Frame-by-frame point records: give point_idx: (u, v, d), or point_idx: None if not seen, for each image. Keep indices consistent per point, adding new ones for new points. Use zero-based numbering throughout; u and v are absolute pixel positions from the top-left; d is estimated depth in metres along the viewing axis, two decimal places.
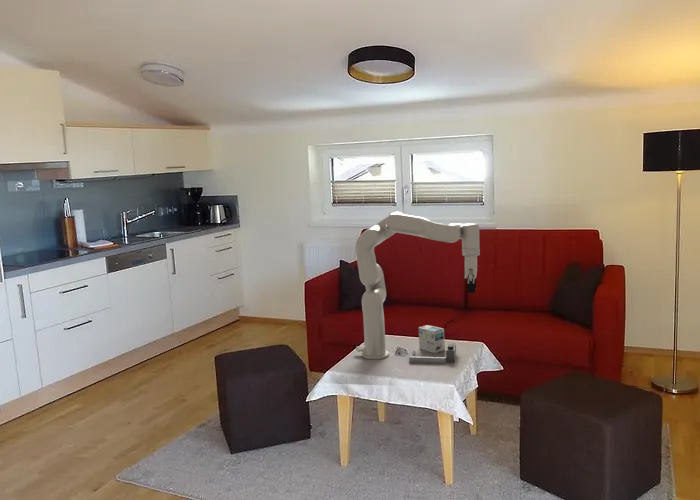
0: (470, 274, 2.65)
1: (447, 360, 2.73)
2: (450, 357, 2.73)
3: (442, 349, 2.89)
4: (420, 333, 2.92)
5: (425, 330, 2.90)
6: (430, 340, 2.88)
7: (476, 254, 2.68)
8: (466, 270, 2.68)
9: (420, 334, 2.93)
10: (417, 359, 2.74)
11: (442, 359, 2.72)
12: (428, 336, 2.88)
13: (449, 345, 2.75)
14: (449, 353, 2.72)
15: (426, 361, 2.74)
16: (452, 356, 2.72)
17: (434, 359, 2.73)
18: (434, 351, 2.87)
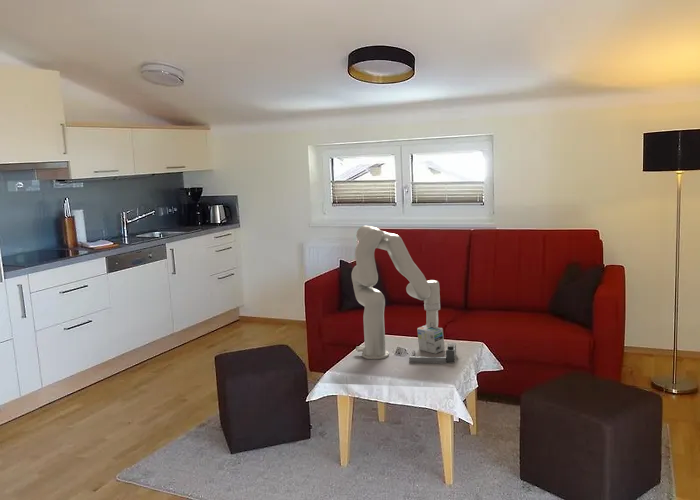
0: None
1: (447, 360, 2.73)
2: (450, 357, 2.73)
3: (442, 349, 2.89)
4: (419, 334, 2.91)
5: (424, 331, 2.88)
6: (430, 340, 2.87)
7: (437, 309, 2.92)
8: (427, 323, 2.92)
9: (419, 335, 2.91)
10: (417, 359, 2.74)
11: (442, 359, 2.72)
12: (428, 337, 2.87)
13: (449, 345, 2.75)
14: (449, 353, 2.72)
15: (426, 361, 2.74)
16: (452, 356, 2.72)
17: (434, 359, 2.73)
18: (434, 351, 2.86)
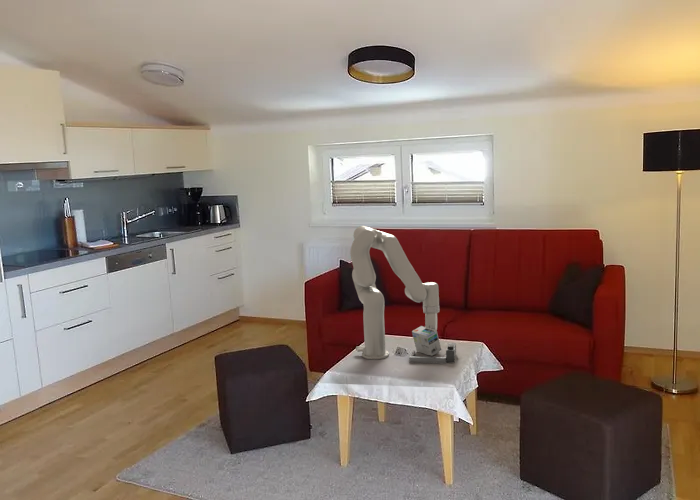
0: None
1: (447, 360, 2.73)
2: (450, 357, 2.73)
3: (438, 350, 2.85)
4: (414, 337, 2.88)
5: (418, 334, 2.84)
6: (425, 343, 2.83)
7: (436, 311, 2.87)
8: (426, 326, 2.87)
9: (414, 338, 2.88)
10: (417, 359, 2.74)
11: (442, 359, 2.72)
12: (422, 340, 2.83)
13: (449, 345, 2.75)
14: (449, 353, 2.72)
15: (426, 361, 2.74)
16: (452, 356, 2.72)
17: (434, 359, 2.73)
18: (430, 354, 2.83)
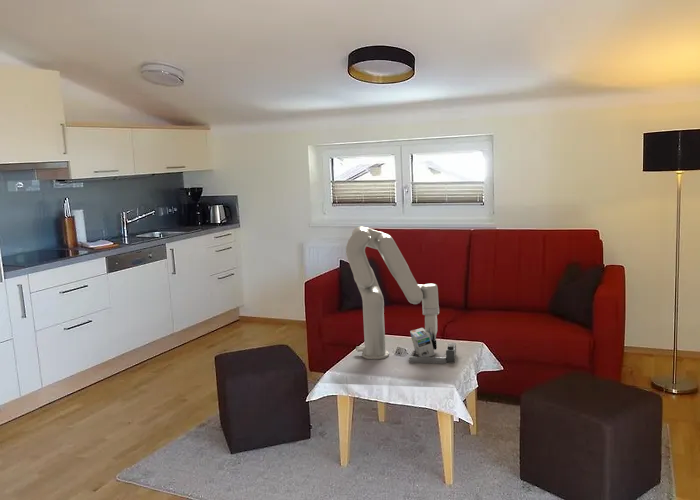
0: (431, 337, 2.82)
1: (447, 360, 2.73)
2: (450, 357, 2.73)
3: (431, 354, 2.80)
4: None
5: (412, 335, 2.83)
6: (416, 345, 2.81)
7: (435, 313, 2.82)
8: (426, 329, 2.82)
9: (412, 338, 2.87)
10: (417, 359, 2.74)
11: (442, 359, 2.72)
12: (415, 342, 2.82)
13: (449, 345, 2.75)
14: (449, 353, 2.72)
15: (426, 361, 2.74)
16: (452, 356, 2.72)
17: (434, 359, 2.73)
18: None
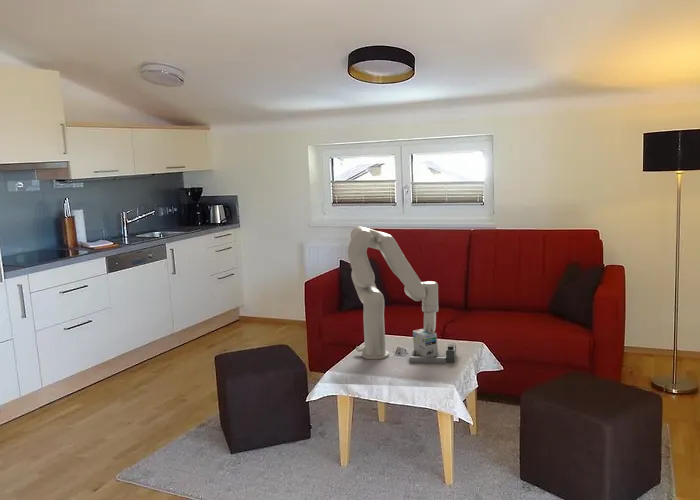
0: None
1: (447, 360, 2.73)
2: (450, 357, 2.73)
3: (434, 354, 2.82)
4: (414, 337, 2.87)
5: (417, 334, 2.84)
6: (422, 344, 2.82)
7: (434, 311, 2.87)
8: (425, 325, 2.86)
9: (414, 338, 2.87)
10: (417, 359, 2.74)
11: (442, 359, 2.72)
12: (420, 341, 2.82)
13: (449, 345, 2.75)
14: (449, 353, 2.72)
15: (426, 361, 2.74)
16: (452, 356, 2.72)
17: (434, 359, 2.73)
18: (425, 356, 2.81)
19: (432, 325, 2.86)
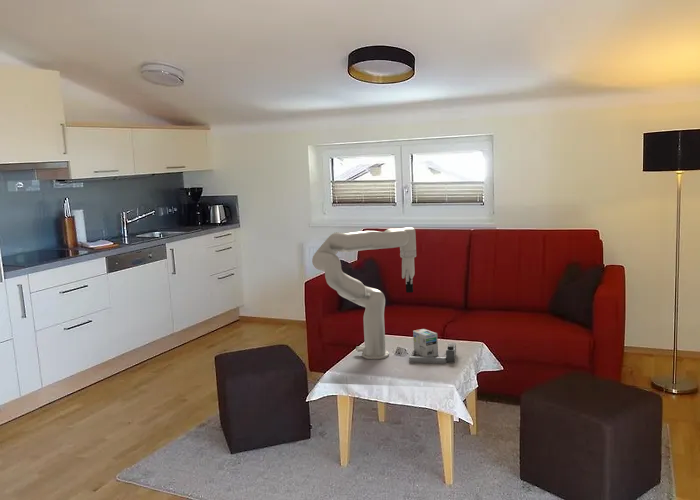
0: (407, 279, 2.88)
1: (447, 360, 2.73)
2: (450, 357, 2.73)
3: (435, 354, 2.82)
4: (414, 337, 2.87)
5: (418, 334, 2.84)
6: (422, 344, 2.82)
7: (412, 256, 2.88)
8: (403, 271, 2.88)
9: (414, 338, 2.87)
10: (417, 359, 2.74)
11: (442, 359, 2.72)
12: (421, 341, 2.82)
13: (449, 345, 2.75)
14: (449, 353, 2.72)
15: (426, 361, 2.74)
16: (452, 356, 2.72)
17: (434, 359, 2.73)
18: (425, 356, 2.81)
19: (410, 270, 2.88)
